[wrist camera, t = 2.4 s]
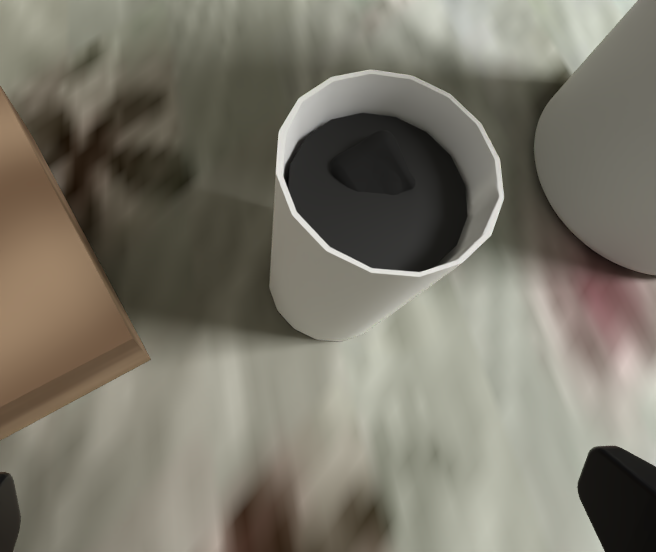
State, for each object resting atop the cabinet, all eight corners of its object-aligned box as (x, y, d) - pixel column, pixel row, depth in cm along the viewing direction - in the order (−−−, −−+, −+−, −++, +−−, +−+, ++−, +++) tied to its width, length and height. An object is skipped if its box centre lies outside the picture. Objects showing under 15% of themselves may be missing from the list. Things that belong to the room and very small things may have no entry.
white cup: (232, 253, 23) (229, 116, 14) (351, 194, 25) (419, 42, 16) (307, 380, 22) (361, 323, 12) (426, 306, 24) (548, 211, 15)
